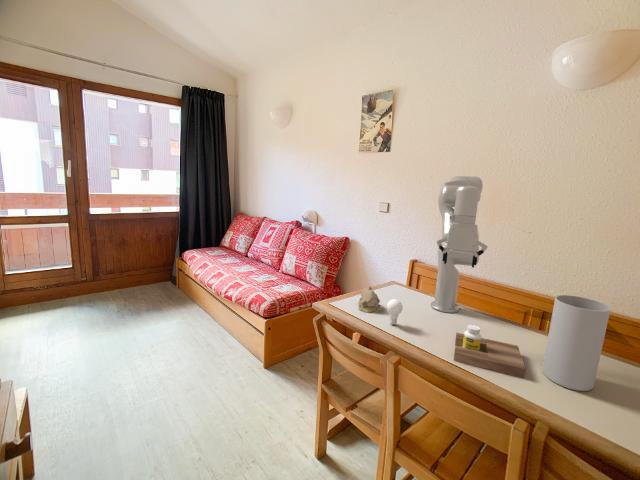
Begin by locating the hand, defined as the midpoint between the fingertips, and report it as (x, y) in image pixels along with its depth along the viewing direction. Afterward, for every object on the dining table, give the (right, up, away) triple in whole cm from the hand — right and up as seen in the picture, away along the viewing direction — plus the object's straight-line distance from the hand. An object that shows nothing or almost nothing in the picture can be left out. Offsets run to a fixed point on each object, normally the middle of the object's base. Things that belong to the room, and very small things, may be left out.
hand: (458, 264), depth 117 cm
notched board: (+5, -31, -11) cm, 33 cm away
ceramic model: (-30, -23, +30) cm, 48 cm away
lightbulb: (-22, -26, +12) cm, 36 cm away
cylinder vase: (+24, -34, -22) cm, 47 cm away
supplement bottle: (0, -31, -8) cm, 32 cm away
